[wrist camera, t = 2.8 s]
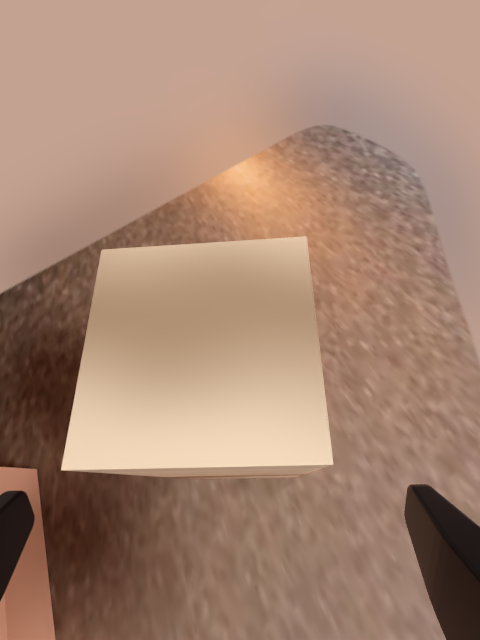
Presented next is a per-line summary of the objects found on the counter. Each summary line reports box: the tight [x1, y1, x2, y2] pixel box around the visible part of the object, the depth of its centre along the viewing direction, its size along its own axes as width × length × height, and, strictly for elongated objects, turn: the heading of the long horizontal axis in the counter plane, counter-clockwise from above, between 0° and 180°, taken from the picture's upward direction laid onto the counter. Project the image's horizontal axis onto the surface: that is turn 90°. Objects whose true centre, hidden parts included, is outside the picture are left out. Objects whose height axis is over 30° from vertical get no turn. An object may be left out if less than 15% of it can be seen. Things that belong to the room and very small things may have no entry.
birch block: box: [61, 237, 333, 479], centre depth 13 cm, size 5×5×12 cm
